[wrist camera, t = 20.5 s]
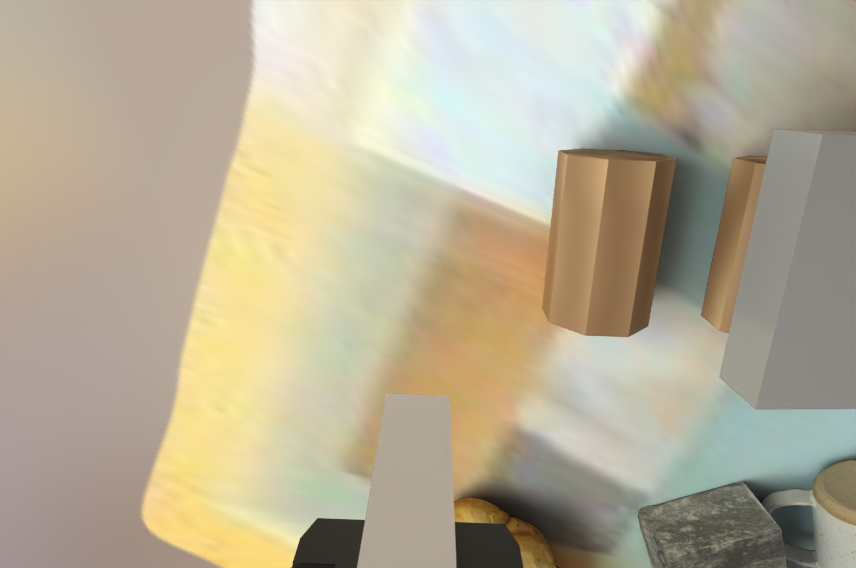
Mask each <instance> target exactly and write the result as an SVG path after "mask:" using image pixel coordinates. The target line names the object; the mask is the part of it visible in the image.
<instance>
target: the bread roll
mask: <svg viewBox="0 0 856 568" xmlns="http://www.w3.org/2000/svg"><path fill="white" fill-rule="evenodd" d="M454 516H455V522H470V523H495V524H505V525H506V526H507V528H508V529H509V531H510V532H511V534H512V535H513V537H514V538H515V539H516V541H517V542H518V544H519V545H520V551H521V556H522V562H523V567H524V568H560V567H559V566H557V565H556V560H555V556H554V554H553V551H552V549H551V548H550V546H549V544H548V542H547V541H546V539H545V538H544V537H543V535H542V533H541V532H540V531H539V530H538V529H537V528H536V527H534V526H533V525H531V524H528V523H526V522H524V521H522V520H519V519H517V518H513V517H510V516H509V515H508V514H507V513H505V512H504V511H502V510H501V509H500V508H498V507H497V506H495V505H493V504H491V503H489V502H487V501H484V500H481V499H477V498H462V499H459V500H457V501H455V502H454Z"/></svg>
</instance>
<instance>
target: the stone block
mask: <svg viewBox="0 0 856 568" xmlns="http://www.w3.org/2000/svg"><path fill="white" fill-rule="evenodd" d="M638 519H639V524H640V529H641V531H642V534H643V537H644V540H645V543H646V546H647V550H648V554H649V557H650V561H651V564H652V567H653V568H787V566H786V558H785V552H784V544H783V537H782V530H781V529H780V527H779V526H778V525H777V523H776V522H775V521H774V520H773V518H772V517H771V516H770V514H769V513H768V512H767V511H766V509H765V508H764V507H763V506H762V504H761V503H760V502H759V500H758V499H757V498H756V497H755V496H754V494H753V493H752V492H751V490H750V489H749V488H748V487H747V485H746V484H745V483H744V482H743V481H740V482H737V483H733V484H729V485H726V486H722V487H719V488H715V489H712V490H708V491H705V492H701V493H697V494H693V495H690V496H686V497H682V498H679V499H676V500H673V501H670V502H667V503H665V504H662V505H659V506H645V507H642V508H640V511H639V514H638Z"/></svg>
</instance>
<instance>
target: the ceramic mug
mask: <svg viewBox="0 0 856 568" xmlns="http://www.w3.org/2000/svg"><path fill="white" fill-rule="evenodd" d="M761 504H762V506H763V507H764V508H765V509H766V511H767V512H768V513H769V514H770V516H771V514H772V512H773V510H775V509H776V508H780V507H783V506H792V505H802V506H807V505H809V506H811V510H812V520H813V524H814V525H813V526H814V544H815V545H814V546H815V550H807V549H802V548H797V547H794V546H791V545H788V544H786V543H784V542H783V544H784V552H785V558H786V560H789V561H791V562H794V563H797V564H800V565H803V566H808V567H813V568H856V460H847V461H843V462H839V463H836V464H833V465H831V466H829V467H827V468H826V469H824V470H822V471H821V472H820V473H819V474H818V476H817V477H816V478H815V481H814V485H813V488H812V489H811V490H800V489H789V490H784V491H780V492H774V493H772V494H770V495H768V496H767V497H765V498H764V499H763V500H762V502H761Z"/></svg>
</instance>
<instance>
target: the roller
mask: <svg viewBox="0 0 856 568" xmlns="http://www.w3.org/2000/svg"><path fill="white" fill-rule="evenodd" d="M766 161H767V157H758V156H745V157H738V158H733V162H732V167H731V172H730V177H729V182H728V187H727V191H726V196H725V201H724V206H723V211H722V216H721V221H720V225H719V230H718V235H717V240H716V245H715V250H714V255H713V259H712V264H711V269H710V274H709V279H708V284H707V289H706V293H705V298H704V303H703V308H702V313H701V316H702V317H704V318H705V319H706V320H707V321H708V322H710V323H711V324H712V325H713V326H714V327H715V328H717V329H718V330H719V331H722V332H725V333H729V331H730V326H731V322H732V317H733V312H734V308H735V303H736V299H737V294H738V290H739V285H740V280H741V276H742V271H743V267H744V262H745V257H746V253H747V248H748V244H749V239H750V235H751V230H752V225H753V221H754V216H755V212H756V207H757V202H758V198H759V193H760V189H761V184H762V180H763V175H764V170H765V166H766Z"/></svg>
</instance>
